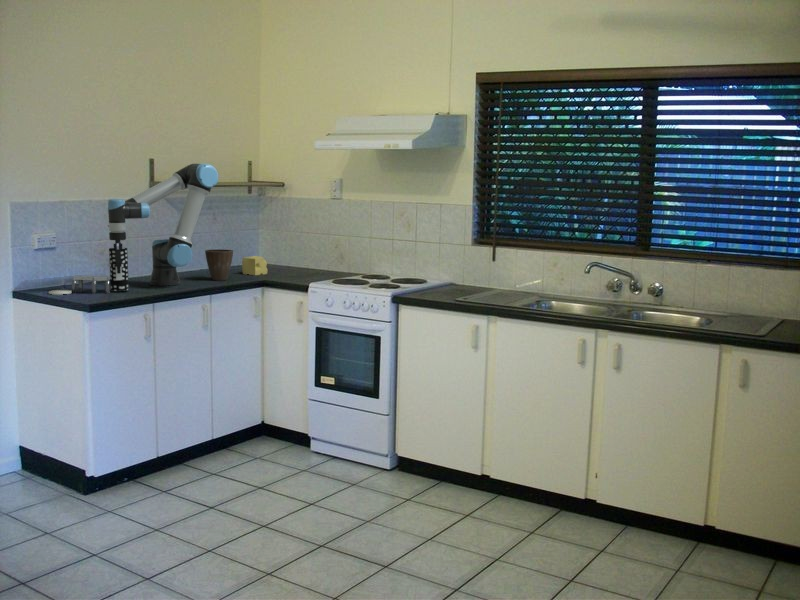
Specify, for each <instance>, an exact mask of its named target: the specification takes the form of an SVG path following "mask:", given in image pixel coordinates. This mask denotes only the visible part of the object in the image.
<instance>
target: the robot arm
mask: <svg viewBox="0 0 800 600" xmlns="http://www.w3.org/2000/svg"><path fill="white" fill-rule="evenodd" d="M218 182H219V173H218V171H217V169H216V168H215V167H214V166H213V165H212V164H208V163H191V164H189V165H186V166H184V167H182V168H181V169H179V170H178V171H175V172H173V173H172V176H171V177H168V178H167V179H164V180H163V181H160V182H159V183H157V184H155V185H153V186H151V187H150V188H147V189H145V190H144V191H142V192H140V193H138V194H136V195H134V196H132V197H130V198H128V199H127V200H125V199H123V198H111V199H108V201H107V213H108V224H107V227H108V231H109V237H108V238H109V241H114V243H113V248H114V249H115V258H116V264H115V265H114V267H116V280H122V265H121V249H122V248H123V243H122V242H121V241H125V240H127V233H126V230H127V228H126V227H127V225H126V219H127V220H128V219H130V220H131V219H133V220H134V219H148V218H149V217H150V215H151V208H150V206H152V205H153V204H155V203H158V202H159V201H161V200H163V199H165V198H166V197H169V196H170V195H173V194H174V193H177V192H178V191H184V190H185V189H188V191H187V194H186V197H185V201H184V203H183V206H182V209H181V213H180V215H179V219H178V221H177V224H176V227H175V231H174V234H173V235H172V234H171V235H170V236H169V238H166V239H165V238H163V239H154V240H153V241H152V244H151V245H152V246H151V249H152V251H151V252H152V254H151V255H152V271H151V274H150V277H149V285H151V286H157V285H158V286H159V287H160V286H161V287H162V286H163V285H164V286H166V285H167V287H168V285H170V286H177V285H181V280H180V276H179V273H178V271H177V268H183V267H185V266H187V265H188V264H189V263H190V262H191V261H192V259H193V251H192V246H193V243H192V236H193V234H194V231H195V228H196V225H197V222H198V219H199V216H200V214H201V210H202V207H203V204H204V201H205V198H206V197H207V195H209V194H210V192H211V190H212V187H215V186H216V185H217V184H218Z"/></svg>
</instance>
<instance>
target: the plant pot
mask: <svg viewBox="0 0 800 600" xmlns="http://www.w3.org/2000/svg"><path fill="white" fill-rule="evenodd" d="M204 252H205V253H204V254H205V259H206V263H207V268H208V271H209V274H210V276H211V279H212V280H213V281H217V282H218V281H220V282H221V281H226V280H227V279H228V277H229V273H230V270H231V267H232V262H233V256H234V255H233V254H234V250H233V249H223V248H222V249H220V248H219V249H216V248H215V249H205V250H204Z"/></svg>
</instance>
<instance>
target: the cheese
mask: <svg viewBox="0 0 800 600" xmlns="http://www.w3.org/2000/svg"><path fill="white" fill-rule="evenodd" d="M241 262H242V263H241V269H242V275H247V274H249V275H248V276H260V275H268V268H267V266H268V262H267V260H265V258H264V257H263V256H259V255H252V256H246V257H245V256H244V257H242V261H241Z"/></svg>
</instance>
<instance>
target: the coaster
mask: <svg viewBox="0 0 800 600" xmlns="http://www.w3.org/2000/svg"><path fill="white" fill-rule="evenodd" d="M50 294H52V295H53V296H64V295H63V294H67V295H71V294H72V289H71V290H70V289H54V290H49V291H48V295H50ZM52 295H51V296H52Z"/></svg>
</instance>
